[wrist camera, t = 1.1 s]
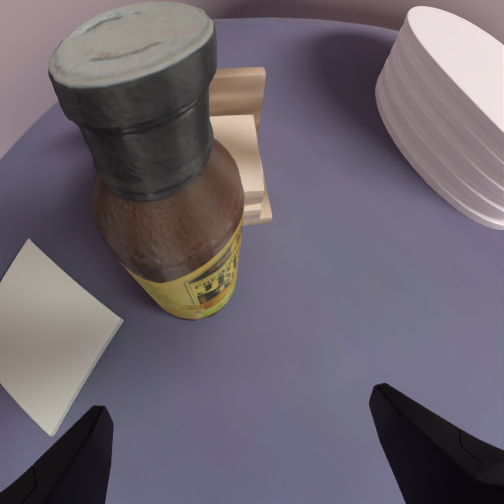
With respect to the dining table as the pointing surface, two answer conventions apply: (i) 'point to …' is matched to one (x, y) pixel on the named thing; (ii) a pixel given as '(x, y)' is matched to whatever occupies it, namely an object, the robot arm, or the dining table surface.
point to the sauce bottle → (156, 150)
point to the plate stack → (448, 109)
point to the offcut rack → (242, 132)
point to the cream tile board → (48, 336)
